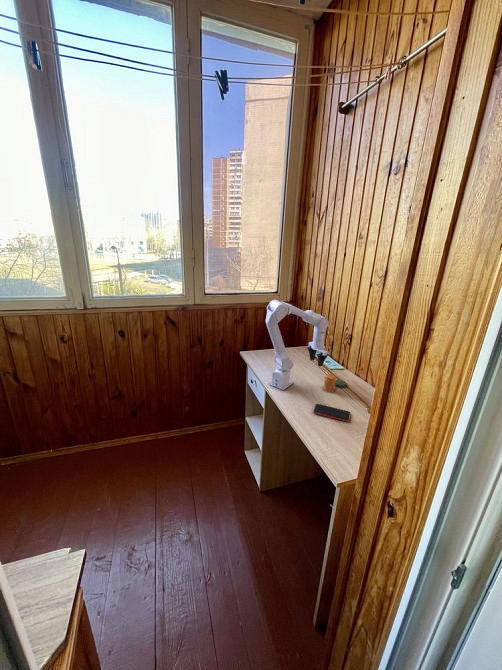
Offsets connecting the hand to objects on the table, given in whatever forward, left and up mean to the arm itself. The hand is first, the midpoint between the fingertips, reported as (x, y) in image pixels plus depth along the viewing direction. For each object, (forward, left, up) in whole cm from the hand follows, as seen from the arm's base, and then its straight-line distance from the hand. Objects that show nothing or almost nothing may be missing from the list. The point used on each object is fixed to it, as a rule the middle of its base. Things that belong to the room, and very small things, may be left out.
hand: (316, 363), depth 155 cm
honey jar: (-5, -11, -9) cm, 15 cm away
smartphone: (-24, -21, -9) cm, 33 cm away
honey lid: (+3, -13, -9) cm, 16 cm away
